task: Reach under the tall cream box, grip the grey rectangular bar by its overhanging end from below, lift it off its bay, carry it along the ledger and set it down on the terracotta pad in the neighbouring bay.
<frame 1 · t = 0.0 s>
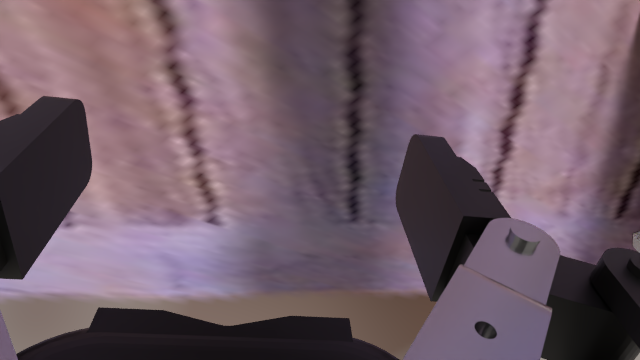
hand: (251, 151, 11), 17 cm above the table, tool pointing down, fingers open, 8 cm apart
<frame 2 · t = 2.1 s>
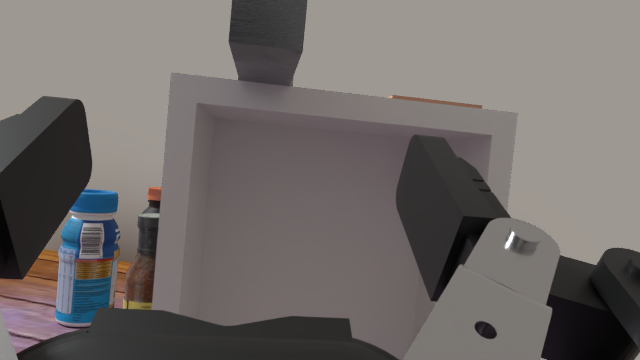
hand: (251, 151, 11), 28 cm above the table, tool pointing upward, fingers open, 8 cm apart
beverage bottle: (84, 320, 70), on the table
grey rectangular bar: (264, 86, 28), point 32 cm above the table, touching tall cream box
vinegar: (153, 292, 87), on the table
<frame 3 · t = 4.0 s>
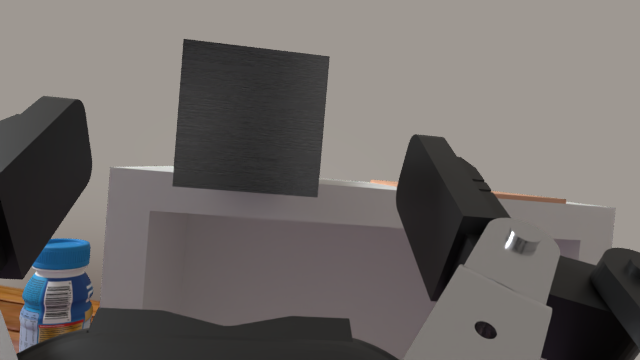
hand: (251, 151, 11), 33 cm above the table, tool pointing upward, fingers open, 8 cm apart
grey rectangular bar: (252, 177, 19), point 32 cm above the table, touching tall cream box
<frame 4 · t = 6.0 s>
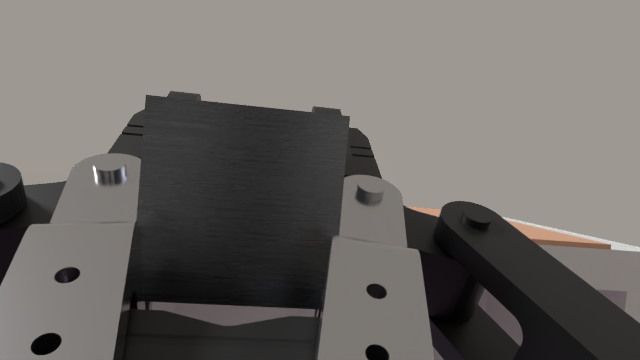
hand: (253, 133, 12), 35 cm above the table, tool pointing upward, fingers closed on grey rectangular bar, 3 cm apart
grey rectangular bar: (249, 220, 17), point 32 cm above the table, touching gripper, tall cream box
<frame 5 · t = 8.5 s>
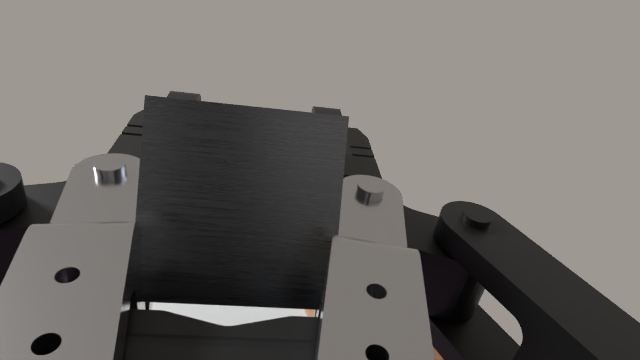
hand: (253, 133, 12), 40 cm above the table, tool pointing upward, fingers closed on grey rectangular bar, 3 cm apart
grey rectangular bar: (249, 220, 17), point 37 cm above the table, touching gripper
when the fingers open (36 cm above the table, at t = 11.1 s): grey rectangular bar stays where it is, resting on tall cream box.
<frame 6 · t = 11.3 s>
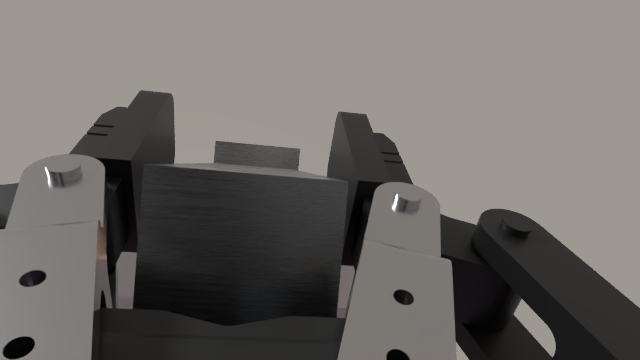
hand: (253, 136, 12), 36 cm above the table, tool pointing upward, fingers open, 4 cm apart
grey rectangular bar: (248, 247, 17), point 32 cm above the table, touching tall cream box
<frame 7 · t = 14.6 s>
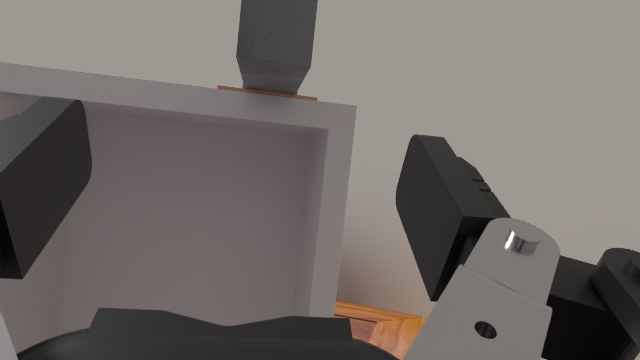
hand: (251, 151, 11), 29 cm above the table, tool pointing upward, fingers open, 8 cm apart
grey rectangular bar: (270, 93, 28), point 32 cm above the table, touching tall cream box
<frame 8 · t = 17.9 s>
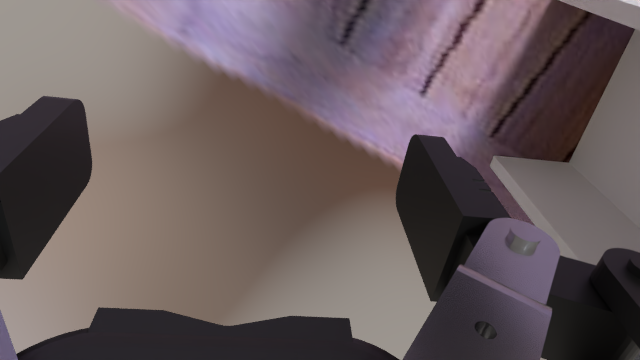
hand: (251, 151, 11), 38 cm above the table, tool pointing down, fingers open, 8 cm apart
tall cream box: (568, 90, 53), on the table
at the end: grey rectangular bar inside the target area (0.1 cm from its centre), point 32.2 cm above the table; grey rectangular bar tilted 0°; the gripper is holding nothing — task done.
